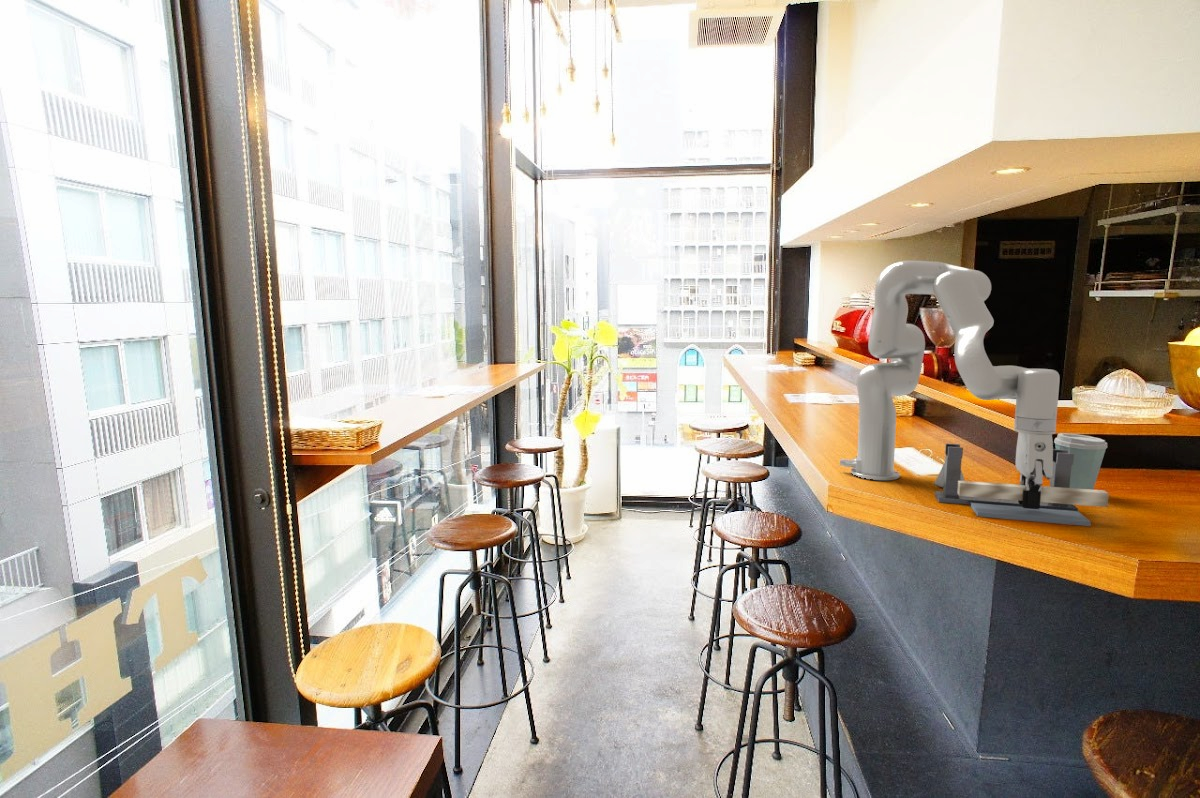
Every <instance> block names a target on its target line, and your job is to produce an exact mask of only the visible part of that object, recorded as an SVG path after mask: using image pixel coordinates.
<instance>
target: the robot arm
mask: <svg viewBox="0 0 1200 798" xmlns="http://www.w3.org/2000/svg"><path fill="white" fill-rule="evenodd" d="M875 282H876V283H875V287H874V288H875V290H874V304H873V305H874V306H873V313H872V316H871V317H872V318H871V323H870V330H869V336H868V345H867V346H868V353H870V355H871V356H873V357H874V358H876V359H882V360H889V359H890V362H877V363H872V364H868V365H866V366H864V367H863V368H862V369H860V370H859V372H858V374H857V378H856V388H857V395H858V402H859V403H858V407H859V408H858V430H857V431H858V435H857V439H858V440H857V454H856V455H857V456H855V458H851V459H846V458H840V460H839V466H842V467H843V466H844V467H845V468H851V469H850V474H851V473H852V474H853V475H852V474H851V475H852V476H854V475H856V476H858V477H857V478H859V477H861V478H860V479H864V478H866V479H865V480H870V479H873V481H894V480H898V479H899V478H900V474H901V473H900V472H899V471H898V470H896V469H894V466H895V451H896V449H895V448H896V429H897V409H896V406H895V403H894V400H893V397H902V396H906V395H909V394H911V393H913V392H914V391H915V390H916V389H917V387H918V384H919V381H920V376H921V371H922V367H923V365H922V364H923V360H924V354H925V349H926V341H925V340H926V339H925V335H924V333H923V331H922V329H920V327H918V326H917V325H915V324H913V323H907V318H908V314H909V306H908V305H909V304H908V301H907V298H906V295H934V296H935V298H936V300H937V303H938V305H939V306H940V309H941V311H942V312H943V314H944V316H945V318H946V320H947V322H948V324H949V326H950V328H951V331H953V334H954V337H955V341H954V351H953V353H954V363H955V367H956V369H957V371H958V373H959V376H960V378H961V379H962V382H963V383H964V385H965V387H966V388H967V390H968V391H969V392H970V393H971V394H972V395H973V396H974V397H976V398H978V399H980V400H983V401H993V400H994V401H995V400H1001V399H1002V400H1005V399H1014V398H1015V409H1014V410H1015V411H1014V413H1015V414H1014V426H1013V430H1014V432H1018V435H1017V441H1016V448H1015V449H1016V450H1015V468H1016V470H1017V471H1018V472H1019V475H1020V476H1019V485H1025V490H1023V501H1020V500H1018V503H1019V504H1022V507H1023V508H1028V509H1039V508H1040V498H1041V486H1043V483H1044V481H1043V479H1044V478H1045V479H1046V480H1050V479H1051V478H1052V469H1053V449H1054V446H1053V445H1054V441H1053V435H1054V434H1055V435H1056V431H1057V429H1056V427H1057V416H1058V415H1057V414H1058V404H1059V392H1060V374H1059V372H1058V371H1057V370H1055V369H1050V368H1049V369H1048V368H1027V367H1023V366H1017V365H997V366H996V365H993V364H992V362H991V361H990V359H989V357H988V355H987V352H986V350H985V345H984V339H985V336H986V333H988V331H989V330H990V329H991V328H992V327H994V322H995V320H994V318H993V316H992V314H991V312H990V311H989V309H988V308H987V306H986V305H987V304H985V301H986V300H987V299H988V298H989V296H990V295H991V291H992V282H991V280H990V278H989V277H988V276H987V274H985V273H984V272H983V271H981V270H976V269H973V268H967V267H962V266H958V265H955V264H950V263H949V264H948V263H947V262H946V263H945V262H941V261H930V260H929V261H928V260H927V261H926V260H900V261H897V262H894V263H891V264H889V265H887V266H886V267H885V268H884V269H883V270H881V272H880V273H879V275H878V277H877V279H876V281H875ZM856 476H855V477H856ZM1043 477H1044V478H1043Z"/></svg>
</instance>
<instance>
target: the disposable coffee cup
mask: <svg viewBox="0 0 1200 798" xmlns="http://www.w3.org/2000/svg"><path fill="white" fill-rule="evenodd" d="M1053 444H1054V445H1055V449H1059V450H1068V453H1073V454H1074V459H1073V465H1072V466H1071V477H1070V488H1076V489H1090V490H1095V489H1094V488H1095V485H1096V482H1097V479H1098V475H1099V472H1100V469H1101V466H1102V462H1103V460H1104V456H1105V453H1106V449H1108V442H1106V440H1105V439H1102V438H1100V437H1094V436H1091V435H1084V434H1076V433H1067V432H1066V433H1064V432H1059V433H1057V436H1056V437H1055V438H1054V441H1053Z"/></svg>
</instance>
